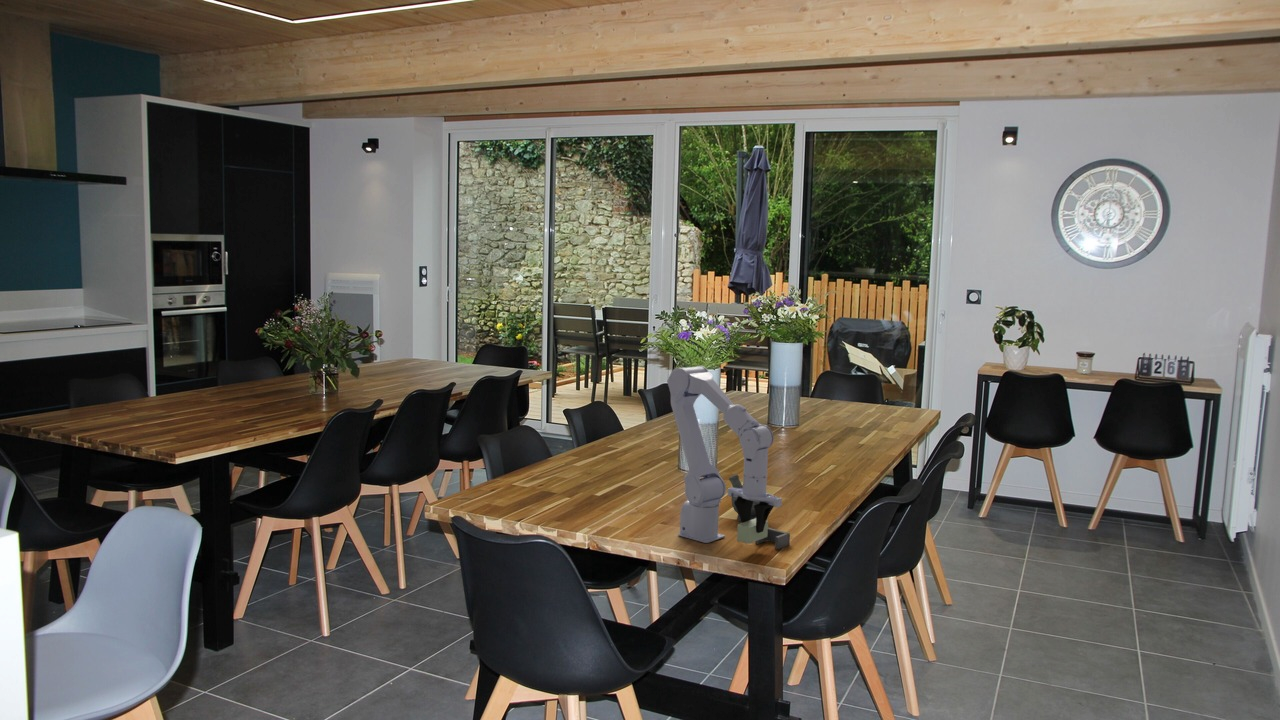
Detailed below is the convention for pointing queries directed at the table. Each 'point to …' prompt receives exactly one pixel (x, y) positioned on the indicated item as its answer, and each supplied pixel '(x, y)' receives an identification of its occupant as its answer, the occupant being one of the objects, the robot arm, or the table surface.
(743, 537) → the rectangular block
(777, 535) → the dark grey piece
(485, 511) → the table surface
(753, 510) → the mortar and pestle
